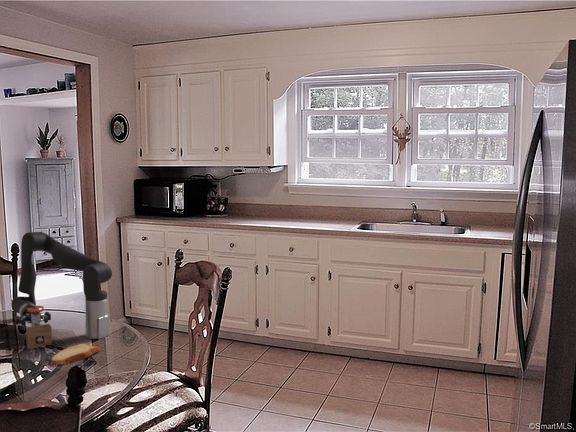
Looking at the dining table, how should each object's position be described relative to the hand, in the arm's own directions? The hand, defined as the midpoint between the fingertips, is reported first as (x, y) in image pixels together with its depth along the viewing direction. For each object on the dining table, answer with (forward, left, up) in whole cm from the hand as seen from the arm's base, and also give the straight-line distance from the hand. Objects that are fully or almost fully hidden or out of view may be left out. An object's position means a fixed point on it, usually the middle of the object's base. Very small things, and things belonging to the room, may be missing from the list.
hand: (35, 322), depth 225 cm
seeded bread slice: (-29, +5, -9) cm, 30 cm away
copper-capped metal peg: (-4, +2, -8) cm, 9 cm away
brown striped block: (-7, +4, -8) cm, 11 cm away
